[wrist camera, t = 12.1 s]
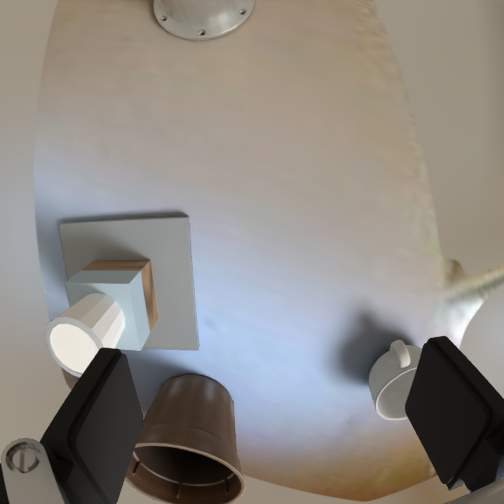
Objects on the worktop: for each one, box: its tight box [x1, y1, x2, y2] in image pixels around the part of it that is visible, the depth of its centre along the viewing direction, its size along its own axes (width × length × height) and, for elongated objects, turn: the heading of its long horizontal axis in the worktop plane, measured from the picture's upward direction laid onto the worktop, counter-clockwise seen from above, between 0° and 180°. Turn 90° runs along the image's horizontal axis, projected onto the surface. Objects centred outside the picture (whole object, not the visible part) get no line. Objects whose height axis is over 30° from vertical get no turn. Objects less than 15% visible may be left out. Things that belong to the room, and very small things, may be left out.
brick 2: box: [65, 270, 150, 351], centre depth 34 cm, size 8×8×4 cm
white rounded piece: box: [45, 293, 125, 377], centre depth 28 cm, size 7×7×7 cm
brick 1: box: [82, 260, 158, 332], centre depth 37 cm, size 8×8×4 cm
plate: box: [59, 216, 200, 350], centre depth 40 cm, size 18×18×1 cm
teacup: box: [369, 340, 422, 420], centre depth 41 cm, size 14×11×8 cm
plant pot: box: [124, 374, 245, 504], centre depth 38 cm, size 16×16×16 cm
